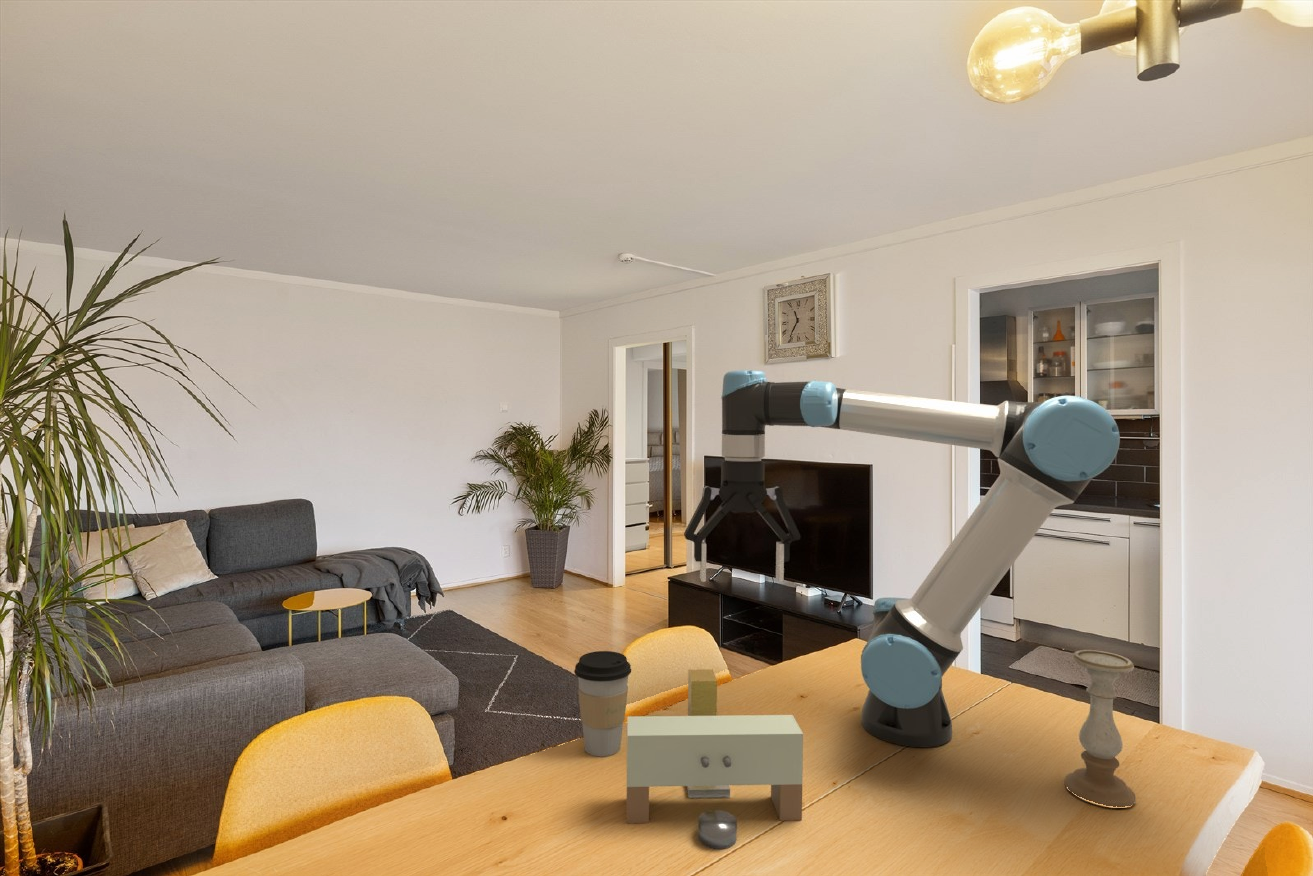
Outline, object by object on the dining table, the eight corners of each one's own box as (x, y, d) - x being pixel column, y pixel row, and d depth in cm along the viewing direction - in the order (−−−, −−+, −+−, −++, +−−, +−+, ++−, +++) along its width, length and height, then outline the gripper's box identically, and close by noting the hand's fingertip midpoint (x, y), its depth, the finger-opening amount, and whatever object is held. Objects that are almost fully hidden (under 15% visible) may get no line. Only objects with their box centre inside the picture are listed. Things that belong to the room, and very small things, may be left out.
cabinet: (791, 796, 100) (792, 715, 100) (803, 824, 93) (805, 737, 93) (626, 799, 99) (627, 716, 98) (626, 827, 92) (627, 739, 92)
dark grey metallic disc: (735, 828, 92) (735, 810, 92) (738, 851, 87) (738, 833, 87) (697, 827, 92) (698, 809, 92) (698, 850, 87) (698, 831, 87)
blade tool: (717, 754, 112) (718, 669, 112) (730, 797, 100) (731, 702, 99) (681, 754, 112) (682, 669, 112) (688, 798, 99) (689, 702, 99)
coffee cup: (622, 765, 109) (623, 671, 108) (565, 758, 110) (566, 666, 110) (636, 738, 118) (637, 651, 117) (583, 732, 120) (584, 647, 119)
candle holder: (1124, 784, 104) (1127, 651, 104) (1144, 815, 96) (1148, 671, 95) (1058, 774, 107) (1061, 645, 107) (1072, 803, 99) (1076, 663, 98)
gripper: (807, 458, 124) (805, 575, 125) (670, 457, 123) (669, 575, 124) (819, 461, 117) (817, 584, 117) (673, 460, 116) (672, 585, 116)
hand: (741, 580), depth 121 cm, fingers open, 13 cm apart
